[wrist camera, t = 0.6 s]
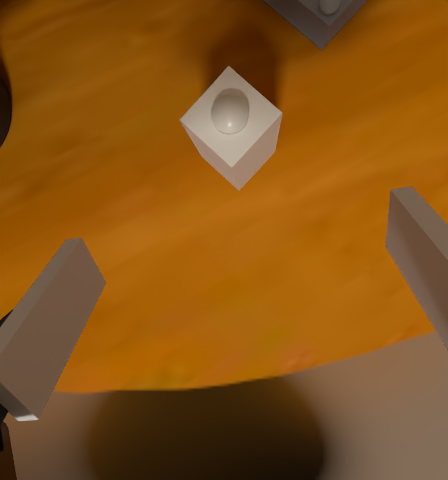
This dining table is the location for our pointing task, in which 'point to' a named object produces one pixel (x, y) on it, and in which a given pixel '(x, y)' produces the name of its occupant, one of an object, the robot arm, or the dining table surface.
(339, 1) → the base plate
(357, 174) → the dining table surface
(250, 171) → the tower brick
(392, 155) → the dining table surface
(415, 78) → the dining table surface
